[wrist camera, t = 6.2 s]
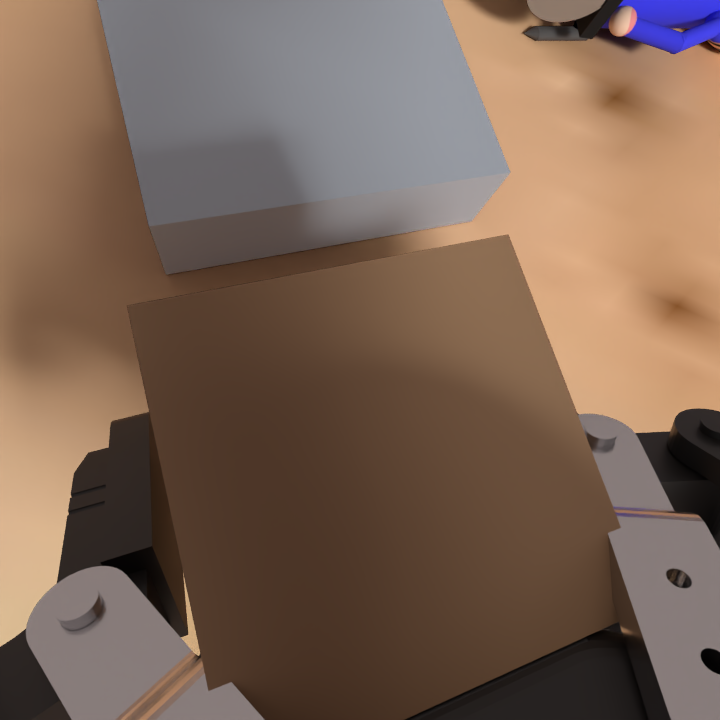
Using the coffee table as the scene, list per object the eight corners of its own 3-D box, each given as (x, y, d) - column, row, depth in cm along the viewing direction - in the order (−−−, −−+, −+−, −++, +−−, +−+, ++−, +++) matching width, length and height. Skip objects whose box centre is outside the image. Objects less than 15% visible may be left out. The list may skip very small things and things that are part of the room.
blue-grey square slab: (384, -13, 21) (405, -92, 18) (471, 221, 19) (510, 172, 16) (101, -4, 18) (74, -96, 15) (166, 274, 16) (149, 226, 13)
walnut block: (359, 387, 16) (508, 234, 7) (405, 543, 16) (651, 607, 6) (201, 427, 15) (126, 306, 6) (241, 601, 14) (230, 798, 5)
